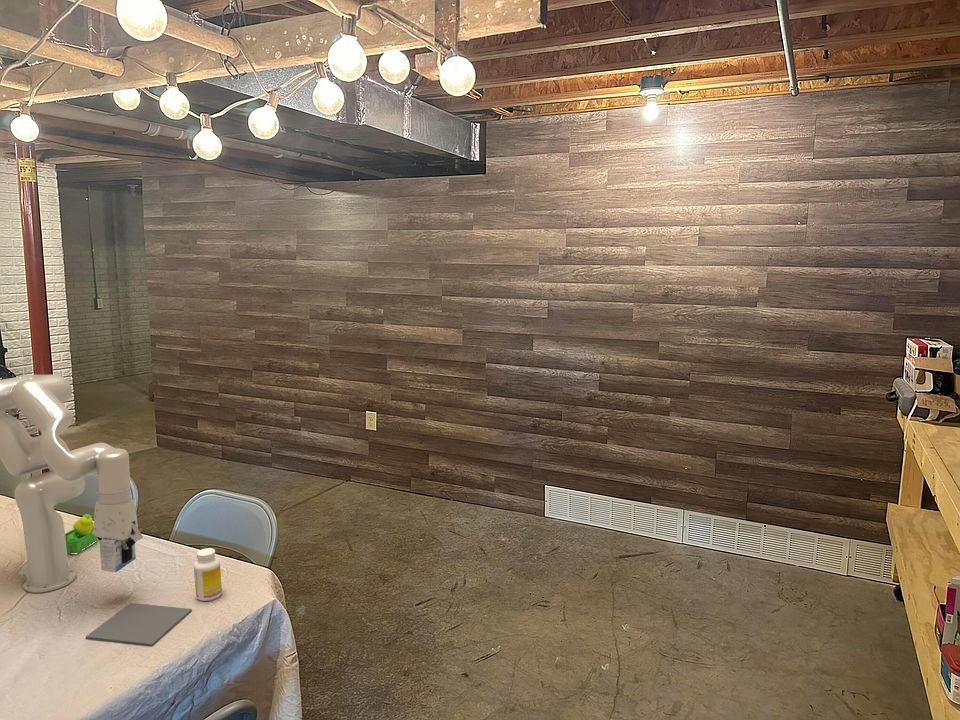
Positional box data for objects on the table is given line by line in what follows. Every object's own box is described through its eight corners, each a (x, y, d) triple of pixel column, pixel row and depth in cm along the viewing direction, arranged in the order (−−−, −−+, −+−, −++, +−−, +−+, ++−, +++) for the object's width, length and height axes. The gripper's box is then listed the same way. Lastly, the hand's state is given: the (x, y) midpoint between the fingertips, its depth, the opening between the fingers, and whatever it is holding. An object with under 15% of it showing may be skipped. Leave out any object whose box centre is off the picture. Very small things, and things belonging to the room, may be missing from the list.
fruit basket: (81, 539, 219) (78, 507, 217) (106, 541, 217) (103, 508, 215) (55, 555, 207) (51, 521, 206) (81, 557, 206) (77, 522, 204)
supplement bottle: (227, 591, 185) (224, 548, 183) (210, 603, 179) (207, 558, 177) (207, 587, 187) (204, 544, 185) (190, 599, 181) (187, 555, 179)
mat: (85, 638, 163) (85, 636, 163) (130, 604, 178) (130, 602, 178) (152, 646, 160) (151, 644, 160) (191, 611, 175) (191, 608, 175)
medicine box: (115, 573, 175) (113, 542, 174) (100, 570, 176) (98, 540, 175) (136, 559, 183) (134, 529, 181) (121, 557, 184) (120, 527, 182)
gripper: (75, 497, 174) (80, 562, 177) (134, 504, 171) (137, 570, 174) (96, 487, 181) (100, 549, 184) (153, 493, 178) (156, 557, 182)
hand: (118, 559), depth 179 cm, fingers closed on medicine box, 4 cm apart
